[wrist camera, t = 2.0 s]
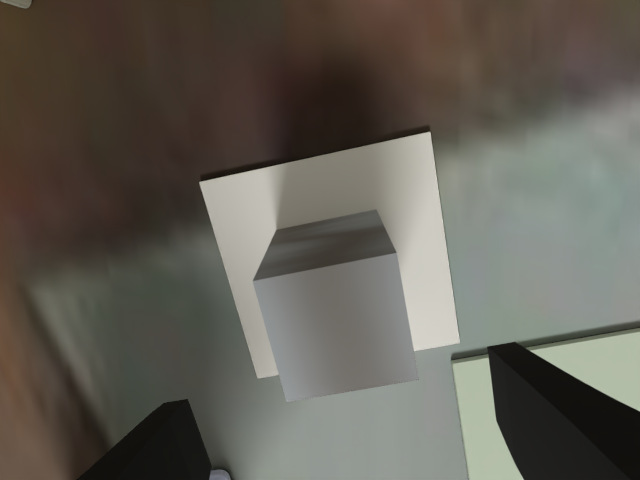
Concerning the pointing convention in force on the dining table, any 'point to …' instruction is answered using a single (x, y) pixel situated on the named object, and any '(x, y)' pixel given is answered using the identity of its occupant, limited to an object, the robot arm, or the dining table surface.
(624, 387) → the sage mat
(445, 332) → the tile
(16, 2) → the box
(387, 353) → the grey block
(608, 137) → the dining table surface
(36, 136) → the dining table surface
